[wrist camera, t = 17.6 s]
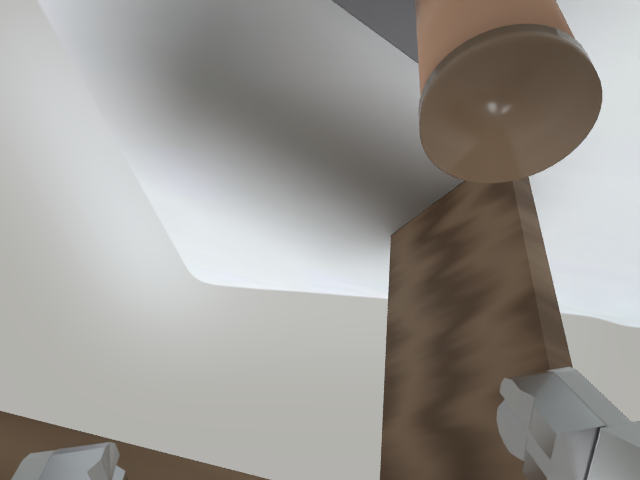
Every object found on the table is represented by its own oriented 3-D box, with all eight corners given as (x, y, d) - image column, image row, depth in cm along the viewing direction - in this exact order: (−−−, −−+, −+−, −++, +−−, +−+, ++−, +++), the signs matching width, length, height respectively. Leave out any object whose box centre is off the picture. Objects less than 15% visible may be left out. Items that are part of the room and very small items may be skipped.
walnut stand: (193, -72, 23) (-322, 475, 7) (525, 163, 32) (635, 636, 16) (138, 100, 32) (-134, 502, 16) (407, 244, 41) (402, 593, 25)
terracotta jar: (462, -138, 19) (514, 3, 11) (544, -65, 20) (642, 103, 12) (389, -27, 22) (386, 140, 14) (464, 27, 24) (499, 202, 16)
